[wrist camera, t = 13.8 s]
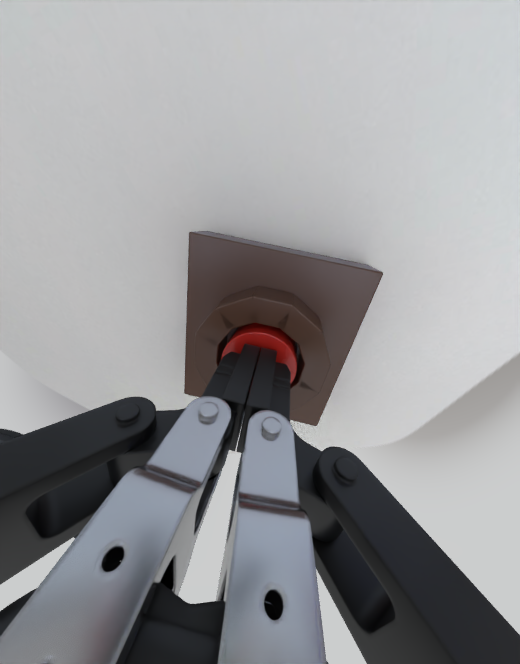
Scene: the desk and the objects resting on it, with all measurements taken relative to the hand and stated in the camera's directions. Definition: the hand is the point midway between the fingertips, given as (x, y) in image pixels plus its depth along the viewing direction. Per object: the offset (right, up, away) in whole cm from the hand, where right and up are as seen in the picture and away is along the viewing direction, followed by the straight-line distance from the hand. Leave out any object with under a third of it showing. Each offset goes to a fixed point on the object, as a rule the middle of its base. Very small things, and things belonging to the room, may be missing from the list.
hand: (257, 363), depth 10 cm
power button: (0, +1, +2) cm, 2 cm away
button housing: (+1, +2, +4) cm, 4 cm away
